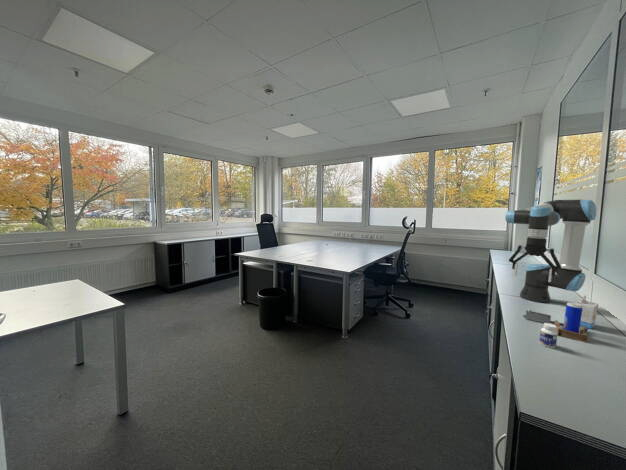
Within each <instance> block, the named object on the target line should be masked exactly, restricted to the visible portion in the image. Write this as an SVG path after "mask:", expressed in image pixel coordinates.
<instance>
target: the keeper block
mask: <svg viewBox="0 0 626 470" xmlns="http://www.w3.org/2000/svg"><path fill="white" fill-rule="evenodd" d="M522 316H523V318H525V317H526V314H523V315H522ZM550 324H553V325H555V326H556V327H557V328H556V330H555V331H556V332H557V333H558V336H557V337H562V338H566V339H571V340H575V341H578V342H582V343H588V340H589V339H588V338H589V335H588V332H589V331H588V330H589V329H588V328H586V327H582V326H580V328H579V333H576V332H571V331H567V330H563V328H562V327H563V325H564V322H559V321H558V320H550ZM561 326H562V327H561Z"/></svg>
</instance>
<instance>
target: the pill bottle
mask: <svg viewBox="0 0 626 470" xmlns="http://www.w3.org/2000/svg"><path fill="white" fill-rule="evenodd" d="M556 328H557V327H556V326H555V325H554V324H553V323H550V324H549V323H543V327H542V328H541V329H540V333H539V341H538V342H539V344H540V345H541V344H542V346H543V345H544V347H546V346H547V348H549V347H551V349H555V348H556V347H557V342H558V341H557V340H558V337H559V336H558V333H557V332H556Z"/></svg>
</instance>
